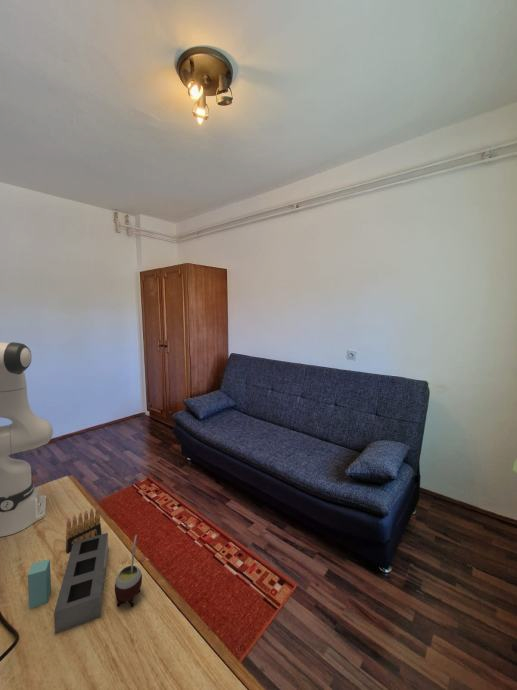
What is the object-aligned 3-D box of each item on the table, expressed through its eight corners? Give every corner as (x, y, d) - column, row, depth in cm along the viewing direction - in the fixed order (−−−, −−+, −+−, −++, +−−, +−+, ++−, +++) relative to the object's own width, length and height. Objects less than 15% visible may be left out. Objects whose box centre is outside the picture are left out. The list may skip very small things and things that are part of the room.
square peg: (34, 595, 79) (32, 563, 78) (51, 590, 81) (49, 558, 80) (29, 608, 75) (27, 575, 74) (47, 602, 77) (45, 570, 76)
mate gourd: (119, 617, 74) (118, 566, 72) (110, 595, 79) (109, 547, 78) (147, 598, 79) (147, 550, 78) (137, 579, 85) (136, 534, 83)
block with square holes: (74, 558, 91) (73, 541, 91) (108, 548, 95) (107, 532, 95) (54, 633, 69) (54, 612, 69) (100, 617, 74) (99, 597, 73)
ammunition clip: (67, 553, 93) (65, 520, 92) (65, 550, 94) (64, 517, 93) (101, 536, 101) (100, 505, 100) (100, 533, 102) (99, 503, 101)
